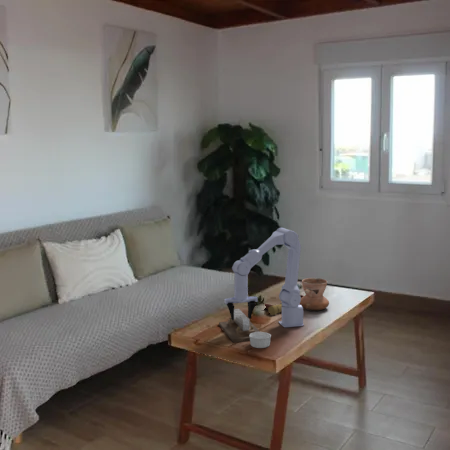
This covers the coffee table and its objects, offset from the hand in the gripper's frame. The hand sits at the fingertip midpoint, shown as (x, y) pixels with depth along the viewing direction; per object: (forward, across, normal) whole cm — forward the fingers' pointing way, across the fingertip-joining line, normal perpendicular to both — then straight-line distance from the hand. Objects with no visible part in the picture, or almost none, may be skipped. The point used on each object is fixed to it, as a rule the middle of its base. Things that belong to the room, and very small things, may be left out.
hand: (241, 318), depth 265 cm
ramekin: (+6, +3, -18) cm, 19 cm away
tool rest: (+6, 0, 0) cm, 6 cm away
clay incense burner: (+6, +45, +25) cm, 52 cm away
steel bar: (+3, 0, 0) cm, 3 cm away
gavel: (+6, +21, +30) cm, 37 cm away
